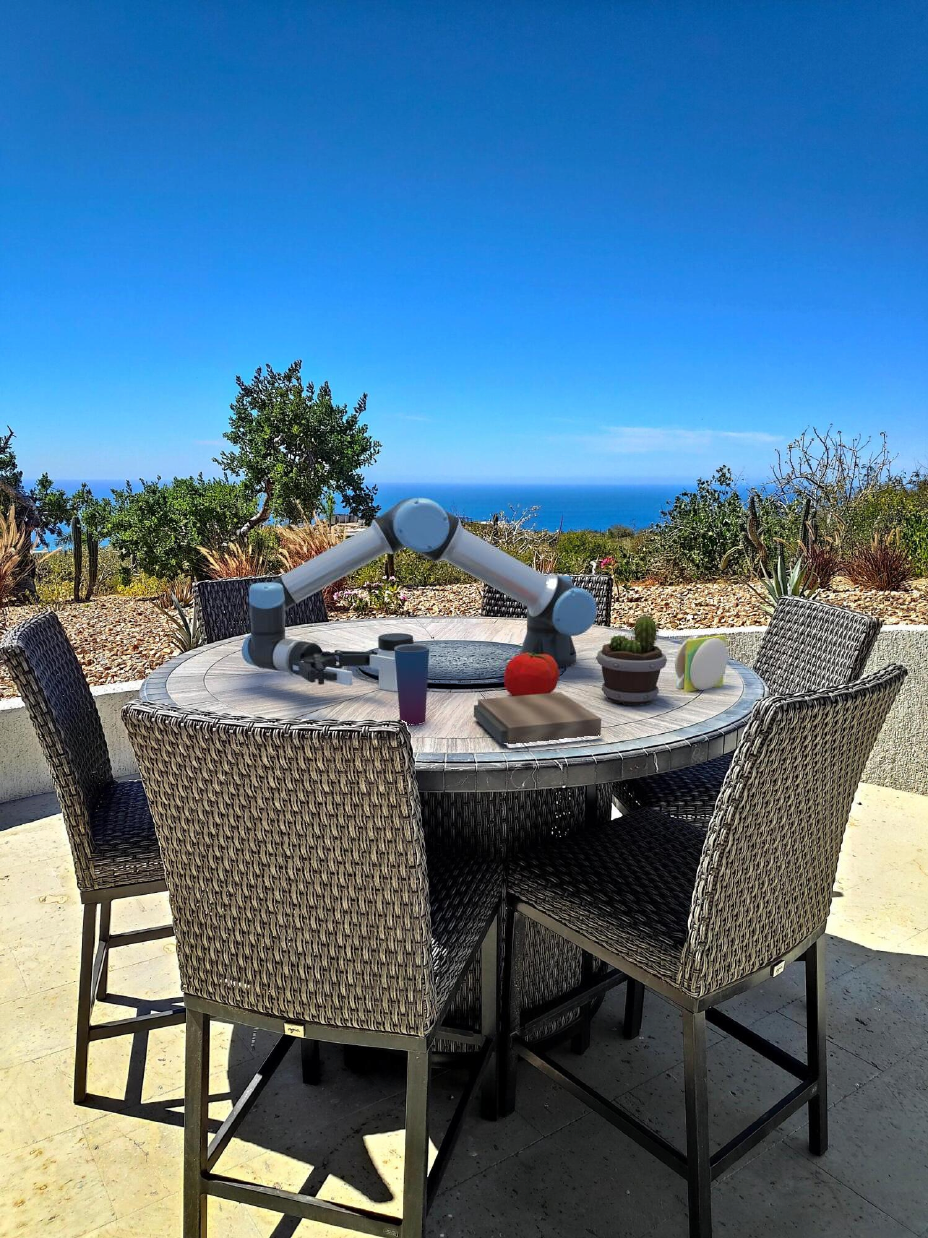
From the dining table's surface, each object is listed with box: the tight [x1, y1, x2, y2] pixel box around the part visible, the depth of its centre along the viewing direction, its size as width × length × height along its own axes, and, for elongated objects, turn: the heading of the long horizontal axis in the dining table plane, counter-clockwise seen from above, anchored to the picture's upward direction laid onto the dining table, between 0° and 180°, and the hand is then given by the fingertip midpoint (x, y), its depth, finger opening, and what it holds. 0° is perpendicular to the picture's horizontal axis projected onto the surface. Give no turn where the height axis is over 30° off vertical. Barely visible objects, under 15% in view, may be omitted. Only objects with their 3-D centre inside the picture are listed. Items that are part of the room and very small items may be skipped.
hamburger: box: [674, 634, 729, 693], centre depth 167 cm, size 12×8×12 cm
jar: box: [377, 632, 415, 693], centre depth 166 cm, size 9×8×12 cm
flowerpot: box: [595, 610, 668, 707], centre depth 155 cm, size 14×15×20 cm
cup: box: [394, 643, 430, 726], centre depth 141 cm, size 7×7×15 cm
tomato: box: [503, 652, 560, 697], centre depth 158 cm, size 11×13×10 cm
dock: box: [473, 691, 602, 744], centre depth 137 cm, size 19×18×4 cm
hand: (373, 671), depth 146 cm, fingers open, 13 cm apart
